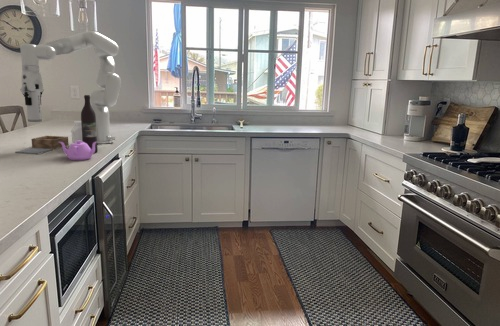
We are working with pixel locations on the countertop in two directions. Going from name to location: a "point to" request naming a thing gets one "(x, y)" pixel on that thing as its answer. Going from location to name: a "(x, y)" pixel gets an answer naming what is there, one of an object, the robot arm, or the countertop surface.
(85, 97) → the wine bottle
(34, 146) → the collar
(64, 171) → the countertop surface
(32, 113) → the travel mug
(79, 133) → the jar
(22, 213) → the countertop surface
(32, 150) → the mat
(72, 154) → the teapot
